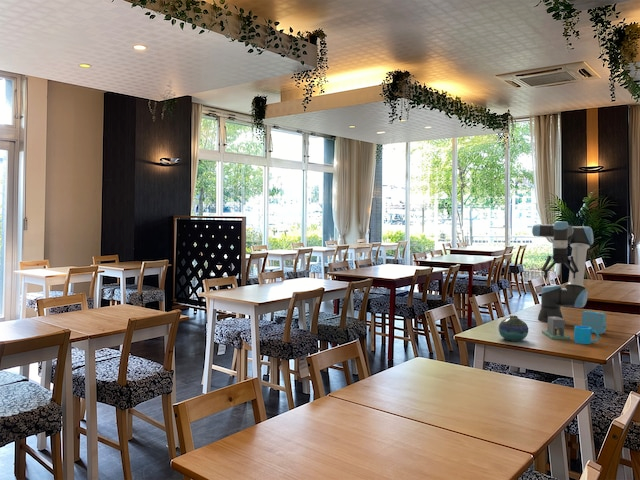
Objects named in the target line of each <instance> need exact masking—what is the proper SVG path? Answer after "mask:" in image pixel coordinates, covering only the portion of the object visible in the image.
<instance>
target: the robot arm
mask: <svg viewBox="0 0 640 480" xmlns="http://www.w3.org/2000/svg"><path fill="white" fill-rule="evenodd" d="M568 222H569V221H565V220H564V221H557V220H556V221H554V222H553V224H543V223H542V224H533V226H532V229H531V232H532V233H531V234H532V235H533V236H534V237H541V238H547V239H551V240H552V241H553V250H552V251H553V252H552V256H551V255H547V256H546V260H545V262H544V264H543V266H542V268H541V272H543V273H544V274H543V275H544V278H545V284H547V285H544V286H542V287H541V293H540V294H541V296H540V297H541V299H540V300H541V303H540V304H541V305H540V306H541V307H540V310H539V312H538V316H537V319H538V321H541V322H545V323H548V317H560V318H562V319H564V316H563V312H562V310H561V307H569V308H570V307H571V308H584V307H585V306H586V304H587V303H588V302H587V301H588V297H589V295H588V294H589V292H588V289H586V286H585V285H584V279H585V271H586V261H587V253H588V252H587V251H588V249H590V247H591V245H593V244H594V241H595V239H594V232H593V229H592V227H591V226H587V225H586V226H585V225H583V226H580V225H579V226H573V225H570V224H569V223H568ZM568 244H569V246H570V248H571V255H569V256H568ZM551 260H552V261H551ZM568 260H569V261H570V264H569V262H568ZM550 262H551V263H550ZM549 263H550V264H549ZM556 264H564V265H565V266H566V268H568V269H569V273H568V275H569V276H568V282H567V283H566V284H565V287H562V285H560V284H552V285H549V284H550V272H549V271H550V270H551V269H552V268H553V267H554V266H556Z"/></svg>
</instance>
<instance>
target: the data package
mask: <svg viewBox="0 0 640 480" xmlns="http://www.w3.org/2000/svg"><path fill="white" fill-rule="evenodd" d="M580 326H588V327H591V329H592V330H594V331H596V332H597V333H598V334H599V335H602V334H605V333H606V332H607V314H606V313H605V312H599V311H593V310H585V311H582V313H581V324H580ZM591 334H596V333H595V332H593V331H591Z"/></svg>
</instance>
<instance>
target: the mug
mask: <svg viewBox="0 0 640 480" xmlns="http://www.w3.org/2000/svg"><path fill="white" fill-rule="evenodd" d="M591 331H593V332H595V333H594V334H595V335H596V339H594V340H592V333H591ZM573 334H574V335H573V342H575V343H577V344H582V345H590V344H592V343H596V342H598V341H599V339H600V334H598V333H597V332H596V331H594V330H592V329H591V327H588V326H581V325H574V333H573Z"/></svg>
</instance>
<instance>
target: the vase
mask: <svg viewBox="0 0 640 480" xmlns="http://www.w3.org/2000/svg"><path fill="white" fill-rule="evenodd" d="M497 329H498V332H499V335H500V336H501V337H502V338H503V339H504V340H506V341H509V342H520V341H523V340H525V339H526V338H527V336H528V334H529V327H528V325H527V323H526V322H525V321H523V320H522V319H521V318H519V317H518V315H513V314H512V315H509V317H507V318H505V319H502V320H501V321H500V323H499V324H498V327H497Z"/></svg>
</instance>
